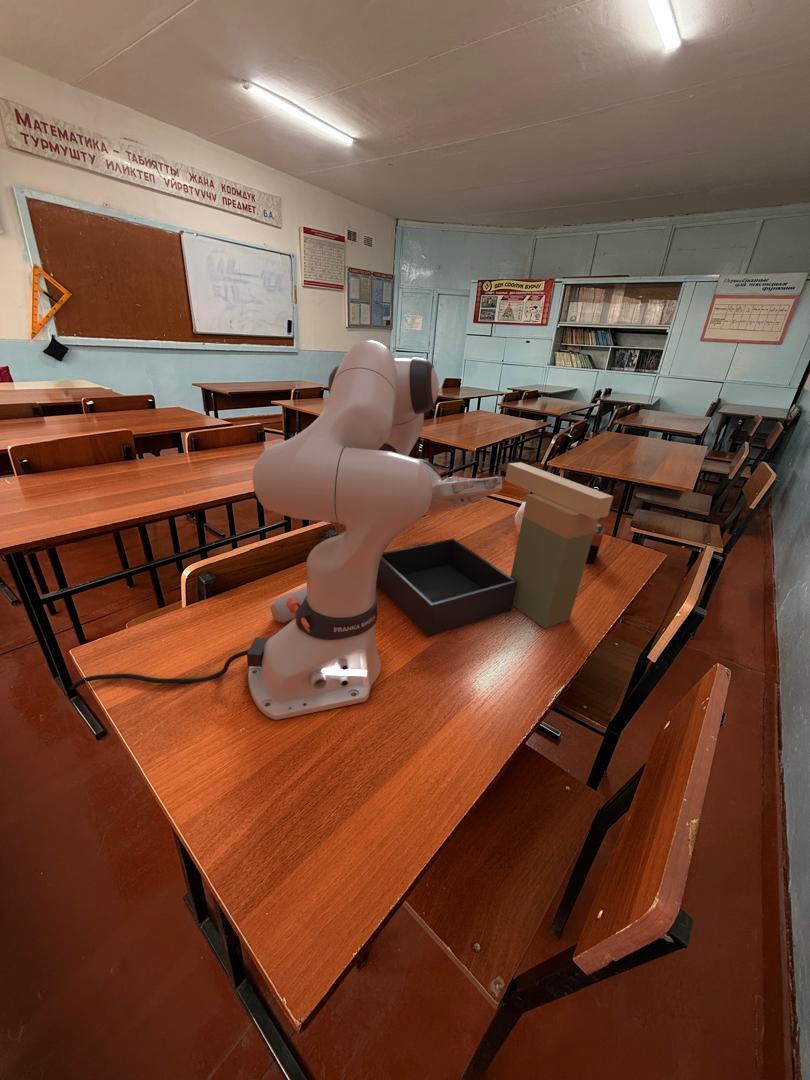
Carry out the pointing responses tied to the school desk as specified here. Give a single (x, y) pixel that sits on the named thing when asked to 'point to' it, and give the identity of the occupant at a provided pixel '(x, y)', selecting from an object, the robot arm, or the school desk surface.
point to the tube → (280, 608)
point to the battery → (595, 544)
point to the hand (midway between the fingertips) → (485, 481)
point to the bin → (444, 585)
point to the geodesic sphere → (519, 517)
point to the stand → (550, 559)
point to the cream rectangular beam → (560, 490)
